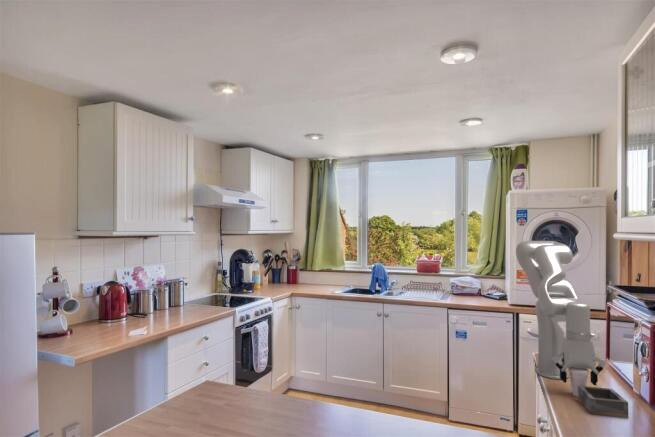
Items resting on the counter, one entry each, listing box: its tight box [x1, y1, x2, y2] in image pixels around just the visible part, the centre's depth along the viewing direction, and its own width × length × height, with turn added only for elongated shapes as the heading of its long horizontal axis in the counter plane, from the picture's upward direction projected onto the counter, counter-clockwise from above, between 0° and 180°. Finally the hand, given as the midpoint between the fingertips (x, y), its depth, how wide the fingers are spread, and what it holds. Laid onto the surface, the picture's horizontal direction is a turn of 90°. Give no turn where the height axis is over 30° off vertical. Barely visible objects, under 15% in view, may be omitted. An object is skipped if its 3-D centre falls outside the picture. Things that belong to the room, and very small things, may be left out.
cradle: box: [577, 385, 629, 419], centre depth 129 cm, size 11×11×5 cm
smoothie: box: [567, 367, 590, 398], centre depth 139 cm, size 6×6×14 cm
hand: (578, 382), depth 139 cm, fingers open, 9 cm apart
